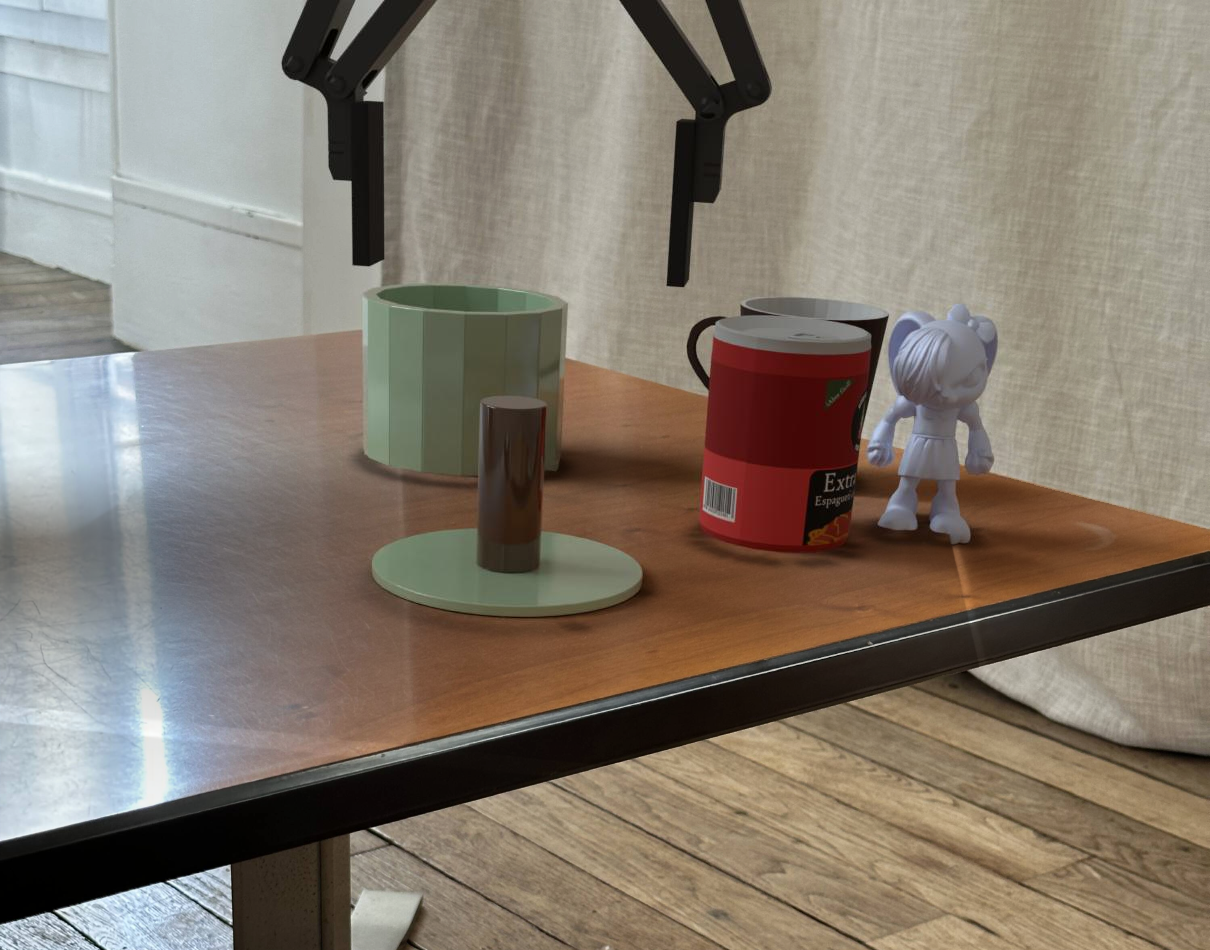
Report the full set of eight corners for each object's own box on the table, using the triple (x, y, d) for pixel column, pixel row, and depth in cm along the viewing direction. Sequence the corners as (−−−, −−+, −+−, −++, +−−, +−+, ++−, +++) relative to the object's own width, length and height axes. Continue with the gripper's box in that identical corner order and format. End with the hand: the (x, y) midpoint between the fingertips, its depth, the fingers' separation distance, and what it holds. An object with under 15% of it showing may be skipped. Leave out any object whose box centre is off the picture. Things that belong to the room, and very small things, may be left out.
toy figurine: (858, 540, 91) (886, 308, 86) (857, 510, 97) (883, 292, 92) (989, 551, 91) (1025, 318, 86) (980, 521, 96) (1013, 301, 91)
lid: (340, 615, 75) (339, 418, 72) (406, 540, 86) (407, 367, 83) (625, 642, 74) (638, 443, 70) (653, 562, 85) (666, 387, 82)
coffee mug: (898, 488, 102) (920, 316, 98) (788, 502, 98) (806, 323, 94) (775, 446, 111) (790, 287, 107) (668, 457, 107) (679, 291, 102)
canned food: (834, 570, 86) (860, 346, 81) (680, 549, 88) (696, 329, 83) (859, 534, 92) (884, 325, 88) (715, 515, 94) (732, 309, 90)
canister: (342, 475, 98) (340, 304, 94) (390, 433, 108) (390, 277, 104) (542, 492, 97) (549, 320, 93) (571, 448, 107) (579, 292, 103)
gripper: (863, -275, 68) (811, 280, 77) (251, -297, 70) (268, 245, 79) (866, -310, 61) (808, 303, 70) (188, -333, 63) (214, 264, 72)
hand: (521, 273), depth 74 cm, fingers open, 13 cm apart
